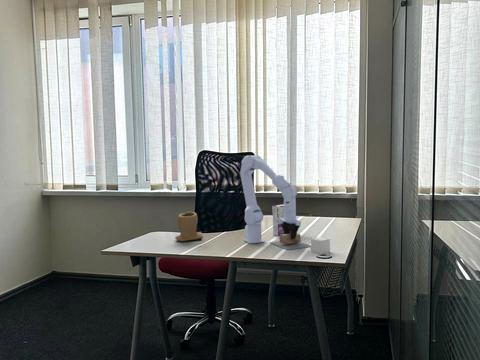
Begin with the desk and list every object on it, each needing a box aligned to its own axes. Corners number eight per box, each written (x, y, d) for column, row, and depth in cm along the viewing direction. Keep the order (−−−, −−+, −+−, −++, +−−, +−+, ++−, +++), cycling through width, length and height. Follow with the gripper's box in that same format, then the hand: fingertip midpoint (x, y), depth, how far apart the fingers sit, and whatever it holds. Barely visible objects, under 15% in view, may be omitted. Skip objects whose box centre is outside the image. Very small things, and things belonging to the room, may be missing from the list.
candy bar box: (287, 232, 256) (287, 203, 255) (293, 233, 252) (293, 204, 251) (272, 235, 249) (271, 205, 248) (278, 236, 245) (277, 206, 244)
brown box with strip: (294, 240, 227) (294, 232, 227) (300, 242, 223) (300, 233, 223) (279, 242, 222) (279, 234, 222) (285, 244, 218) (285, 235, 218)
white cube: (311, 251, 208) (310, 238, 208) (320, 249, 212) (319, 237, 211) (321, 254, 203) (320, 240, 203) (330, 251, 207) (329, 238, 206)
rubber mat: (269, 243, 228) (269, 242, 228) (293, 240, 234) (293, 239, 234) (286, 250, 212) (286, 249, 212) (312, 247, 217) (312, 245, 217)
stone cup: (181, 244, 232) (180, 214, 231) (173, 240, 242) (172, 212, 241) (208, 240, 239) (207, 212, 238) (199, 236, 249) (198, 209, 248)
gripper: (274, 209, 226) (275, 236, 227) (292, 212, 214) (292, 241, 214) (286, 208, 230) (286, 235, 230) (304, 211, 217) (304, 239, 218)
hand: (290, 238), depth 223 cm, fingers closed on brown box with strip, 4 cm apart
